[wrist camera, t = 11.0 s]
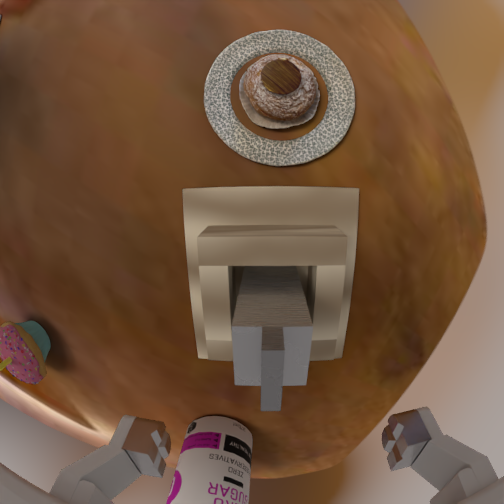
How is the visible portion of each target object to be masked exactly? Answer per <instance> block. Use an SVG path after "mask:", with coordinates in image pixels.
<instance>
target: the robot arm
mask: <svg viewBox="0 0 504 504" xmlns="http://www.w3.org/2000/svg"><path fill="white" fill-rule="evenodd" d="M0 19H1V14H0ZM388 423H389V425H388V426H386V427H385V428H384V430H383V433H382V444H383V447H384V450H386V451H387V452H389V455H388V457H387V460H388V463H389V466H390V469H391V471H394V470H397V469H401V468H405V467H409V466H411V468H412V469H413V470H415V471H416V472H417V473H418V474H419V475H421V476H422V477H423V478H424V479H426V480H427V481H428V482H429V483H430V484H432V485H433V486H434V487H435V488H437V489H438V490H439V492H438V493H437V494H436V495H435V496H434V497H433V498H432V499H431V500H430V504H504V476H503V477H501V478H500V479H498V477H497V475H496V473H495V471H494V469H493V467H492V465H491V463H490V461H489V459H488V457H487V456H485V455H483V454H481V453H479V452H477V451H475V450H474V449H472V448H470V447H468V446H466V445H464V444H462V443H461V442H459V441H457V440H455V439H453V438H452V437H450V436H448V435H443V433H442V432H441V430H440V428H439V426H438V424H437V422H436V420H435V418H434V417H433V415H432V413H431V411H430V409H429V408H428V407H422V408H419V409H415V410H414V409H413V410H410V411H406V412H402V413H398V414H393V415H391V416H390V418H389V419H388ZM165 428H166V426H165V424H164V422H161V421H155V420H150V419H144V418H139V417H135V416H130V415H124V416H123V417H122V418H121V420H120V422H119V424H118V426H117V428H116V431H115V433H114V435H113V437H112V439H111V441H110V443H109V445H104V446H102V447H100V448H99V449H97V450H95V451H94V452H92V453H90V454H88V455H87V456H85V457H84V458H82V459H80V460H78V461H76V462H74V463H72V464H71V465H69V466H67V467H65V468H63V469H62V470H61V472H60V474H59V476H58V477H57V479H56V481H55V483H54V485H53V487H52V489H51V491H50V493H47V492H45V491H44V490H42V489H40V488H38V487H37V486H35V485H33V484H32V483H30V482H28V481H27V480H25V479H23V478H22V477H20V476H19V475H17V474H16V473H14V472H13V471H11V470H10V469H9V468H7V467H6V466H4V465H3V464H1V463H0V504H114V503H113V502H112V501H111V500H112V499H113V498H114V497H116V496H117V495H118V494H119V493H121V492H122V491H123V490H124V489H125V488H127V487H128V486H129V485H130V484H131V483H133V482H134V481H135V480H136V479H137V478H139V477H140V476H141V474H144V475H149V476H154V477H160V478H162V477H163V473H164V470H165V467H166V463H165V461H164V459H165V458H166V457H168V456H169V453H170V449H171V440H170V436H169V434H168V433H167V432H165Z"/></svg>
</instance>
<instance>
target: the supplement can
mask: <svg viewBox="0 0 504 504" xmlns="http://www.w3.org/2000/svg"><path fill="white" fill-rule="evenodd" d="M252 442H253V439H252V434H251V432H250V431H249V430H248V429H247V428H246V427H245V426H243V425H242V424H241V423H239V422H237V421H236V420H233V419H230V418H227V417H221V416H206V417H203V418H200V419H197V420H194V421H193V422H192V423H191V424H189V425H188V429H187V432H186V436H185V439H184V443H183V446H182V450H181V453H180V457H179V460H178V464H177V467H176V471H175V474H174V478H173V481H172V485H171V489H170V492H169V496H168V500H167V504H248V501H249V487H250V472H251V458H252Z"/></svg>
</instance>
